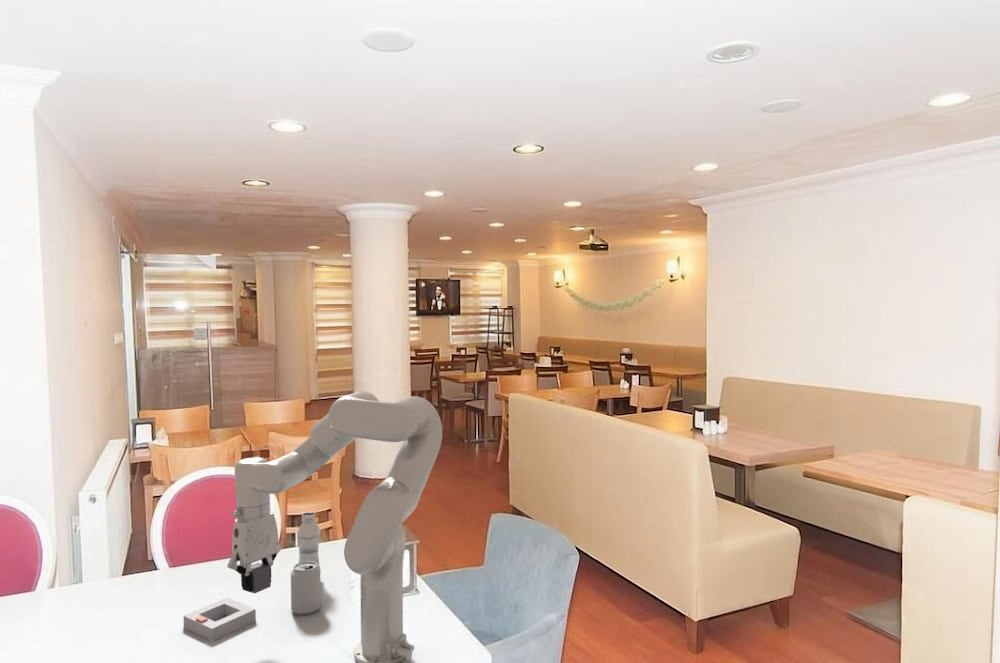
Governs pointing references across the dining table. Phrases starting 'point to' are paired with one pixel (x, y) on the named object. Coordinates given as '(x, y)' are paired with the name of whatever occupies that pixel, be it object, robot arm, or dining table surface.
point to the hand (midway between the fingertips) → (256, 585)
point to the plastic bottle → (308, 539)
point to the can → (305, 588)
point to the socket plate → (213, 630)
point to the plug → (260, 577)
